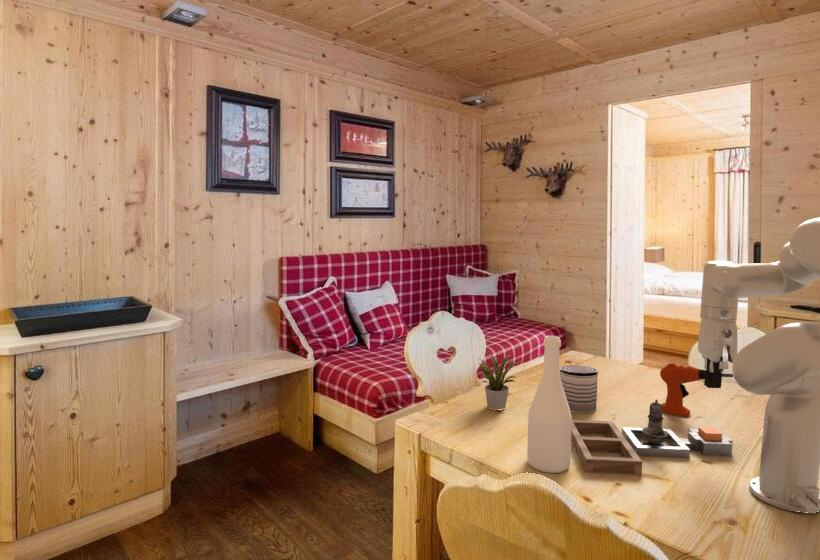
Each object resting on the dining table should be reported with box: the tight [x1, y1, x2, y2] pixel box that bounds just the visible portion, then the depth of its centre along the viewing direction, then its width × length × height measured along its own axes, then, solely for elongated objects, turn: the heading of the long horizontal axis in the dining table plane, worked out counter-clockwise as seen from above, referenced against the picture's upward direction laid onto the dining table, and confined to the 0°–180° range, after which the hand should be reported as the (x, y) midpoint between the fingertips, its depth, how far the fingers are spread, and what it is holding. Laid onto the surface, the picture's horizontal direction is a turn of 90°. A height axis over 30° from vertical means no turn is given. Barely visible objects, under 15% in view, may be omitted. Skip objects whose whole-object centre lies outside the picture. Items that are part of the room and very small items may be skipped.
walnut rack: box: [571, 419, 643, 475], centre depth 125 cm, size 22×12×3 cm, turn 174°
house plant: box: [477, 354, 526, 409], centre depth 153 cm, size 14×14×16 cm
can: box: [559, 364, 600, 414], centre depth 154 cm, size 11×11×12 cm
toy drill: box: [659, 362, 734, 418], centre depth 146 cm, size 5×19×15 cm, turn 56°
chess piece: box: [641, 398, 668, 446], centre depth 127 cm, size 6×6×12 cm
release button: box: [697, 426, 723, 440], centre depth 127 cm, size 4×4×3 cm
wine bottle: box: [526, 335, 573, 474], centre depth 117 cm, size 10×10×30 cm
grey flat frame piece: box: [621, 426, 733, 459], centre depth 127 cm, size 12×23×3 cm, turn 84°
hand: (712, 386), depth 125 cm, fingers closed
